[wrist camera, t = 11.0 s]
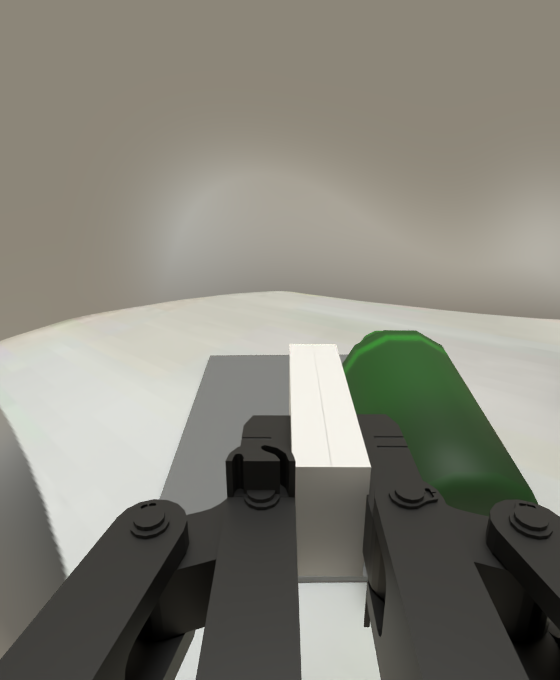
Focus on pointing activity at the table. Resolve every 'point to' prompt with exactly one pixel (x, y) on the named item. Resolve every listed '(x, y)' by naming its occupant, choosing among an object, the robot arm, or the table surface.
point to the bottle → (434, 418)
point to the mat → (228, 430)
